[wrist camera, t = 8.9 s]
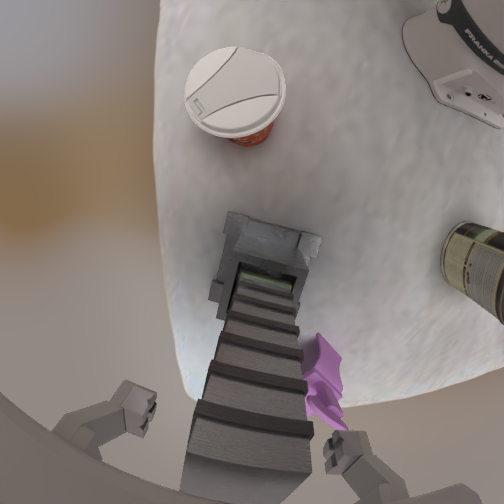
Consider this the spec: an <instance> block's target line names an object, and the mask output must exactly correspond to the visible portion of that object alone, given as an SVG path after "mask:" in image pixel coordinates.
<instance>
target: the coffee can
mask: <svg viewBox="0 0 504 504" xmlns="http://www.w3.org/2000/svg"><path fill="white" fill-rule="evenodd" d="M441 270H442V274H443V276H444V278H445V280H446V281H447V282H448V284H450V285H451V286H453V287H455V288H456V289H458V290H459V291H461V292H462V293H464V294H465V295H466V296H468V297H469V298H471V299H472V300H473V301H475V302H476V303H477V304H479V305H480V306H481V307H483V308H484V309H485V310H487V311H488V312H489V313H491V314H492V315H493V316H495V317H496V318H497V319H498V320H500V322H501V323H502V324H503V325H504V232H501V231H497V230H494V229H491V228H488V227H485V226H481V225H478V224H475V223H473V222H463V223H460V224H458V225H457V226H456V227H455V228H454V229H453V230H452V231H451V232H450V233H449V235H448V237H447V239H446V241H445V243H444V246H443V249H442V254H441Z"/></svg>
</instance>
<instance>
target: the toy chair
mask: <svg viewBox="0 0 504 504" xmlns="http://www.w3.org/2000/svg"><path fill="white" fill-rule="evenodd" d="M317 339H318V344H319V357H318V359H317V361H316V363H315V364H314V366H313V367H312V368H311V369H310V370H309V371H307V372H306V373H304V374H303V375H302V379H303V380H305V381H307V383H308V390H309V391H308V393H307V395H306V397H305V405H306V414H307V417H308V416H310V415H312V414H314V413H315V414H316V415H317V416H319V417H320V418H321V419H322V420H324V421H325V422H326V423H328V424H329V425H331V426H332V427H334V428H335V429H336V430H349V429H348V428H347V426H346V424H345V423H344V422H343V421H342V420H341V419H340V418H341V417H343V416H344V414H343V412H342V410H341V408H340V405H339V403H338V401H337V400H339V399H340V398H342V394H341V392H342V390H343V385H342V381H341V377H340V372H339V366H340V362H341V360H342V358H341V356H340V355H339V354H338V353H337V352H336V351H335V350H334V349H333V348H332V347H331V346H330V344H329V343H328V342H327V341H326V340H325V339H324V338H323V337H322V336H321V335H320V334H319V333H317Z"/></svg>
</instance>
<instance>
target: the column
mask: <svg viewBox="0 0 504 504" xmlns="http://www.w3.org/2000/svg"><path fill="white" fill-rule="evenodd" d="M291 287H292V284H291V282H290V281H287V280H283V279H279V278H275V277H271V276H268V275H264V274H260V273H256V272H253V271H249V270H245V269H242V271H241V274H240V278H239V280H238V283H237V287H236V291H235V293H234V295H233V298H232V302H231V306H230V309H228V312H227V316H226V320H225V324H224V328H223V331H221V333H220V336H219V339H218V344H217V348H216V352H215V356H214V360H211V363H210V366H209V369H208V373H207V377H206V382H205V386H204V390H203V395H202V399H198V401H197V404H196V407H195V410H194V414H193V419H192V425H191V430H190V435H189V440H188V445H187V450H186V456H185V461H184V467H183V473H182V478H181V484H180V490H179V491H180V492H184V493H188V494H191V495H195V496H199V497H203V498H208V499H212V500H217V501H222V502H228V503H234V504H280V503H281V502H282V501H283V500H285V499H286V498H287V497H288V496H289V495H290V494H291V493H292V492H293V491H294V490H295V489H296V488H297V487H298V486H299V485H300V484H301V483H302V482H303V481H304V480H305V479H306V478H307V477H308V476H309V475H310V474H311V473H312V464H311V453H310V440H311V439H312V438H313V436H314V428H313V422H312V421H307V414H306V405H305V397H306V395H307V393H308V391H309V390H308V383H307V381H305V380H303V379H302V371H301V363H302V361H303V358H304V356H303V350H300V349H299V348H298V341H297V338H298V336H299V333H300V331H299V326H295V320H294V319H295V316H296V313H297V312H296V308H293V306H292V302H293V299H294V295H293V294H291V293H290V290H291Z"/></svg>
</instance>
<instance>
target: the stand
mask: <svg viewBox="0 0 504 504" xmlns="http://www.w3.org/2000/svg"><path fill="white" fill-rule="evenodd" d="M223 233H224V234H227V237H226V242H225V246H224V250H223V254H222V259H221V263H220V267H219V272H218V276H217V281H216V280H213V281H212V284H211V289H210V293H209V298H208V300H211V301H214V302H218V303H219V307H218V311H217V316H216V318H217V319H221V320H224V321H225V320H226V316H227V312H228V309H230V306H231V302H232V298H233V295H234V293H235V291H236V287H237V283H238V280H239V278H240V274H241V271H242V269H245V270H249V271H253V272H256V273H260V274H264V275H268V276H271V277H275V278H279V279H283V280H287V281H290V282H291V284H292V287H291V290H290V293H291V294H293V295H294V299H293V302H292V306H293V308H296V312H297V313H298V310H299V308H300V302H298V301H299V298H300V295H301V292H302V289H303V286H304V283H305V280H306V277H307V274H308V271H309V270H308V266H309V263H310V260H311V257H314V258H317V254H318V251H319V248H320V245H321V242H322V239H323V238H322V237H321V236H318V235H314V234H311V233H307V232H304V231H301V232H300V231H297V230H293V229H289V228H286V227H282V226H278V225H275V224H271V223H267V222H264V221H260V220H256V219H252V218H250V217H249V216H245V215H241V214H237V213H233V212H228V214H227V218H226V223H225V227H224V231H223ZM297 313H296V316H297ZM296 316H295V319H296ZM295 319H294V320H295Z"/></svg>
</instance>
